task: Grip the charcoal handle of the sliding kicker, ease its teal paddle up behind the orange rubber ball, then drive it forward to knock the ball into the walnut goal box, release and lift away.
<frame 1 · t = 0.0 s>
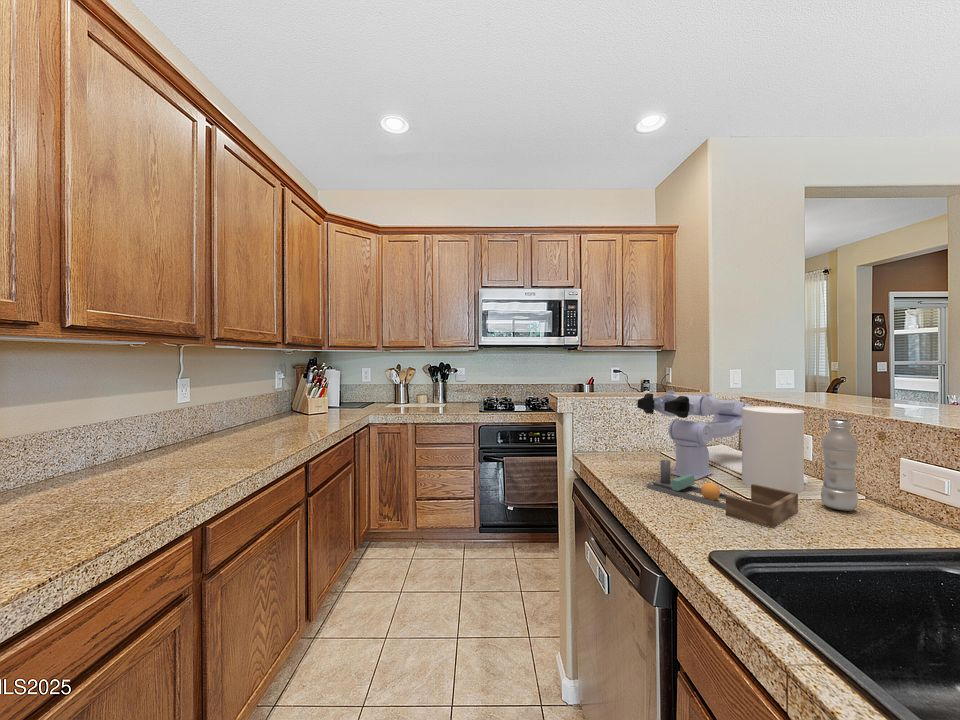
hand: (651, 405, 112), 22 cm above the worktop, tool horizontal, fingers open, 7 cm apart
kicker: (671, 475, 111), point 4 cm above the worktop, slide at 0.0 cm
guide rails: (692, 494, 107), on the worktop
goal box: (759, 512, 95), on the worktop
plastic bottle: (839, 509, 97), on the worktop
canister: (771, 485, 114), on the worktop
ball: (710, 491, 103), point 2 cm above the worktop
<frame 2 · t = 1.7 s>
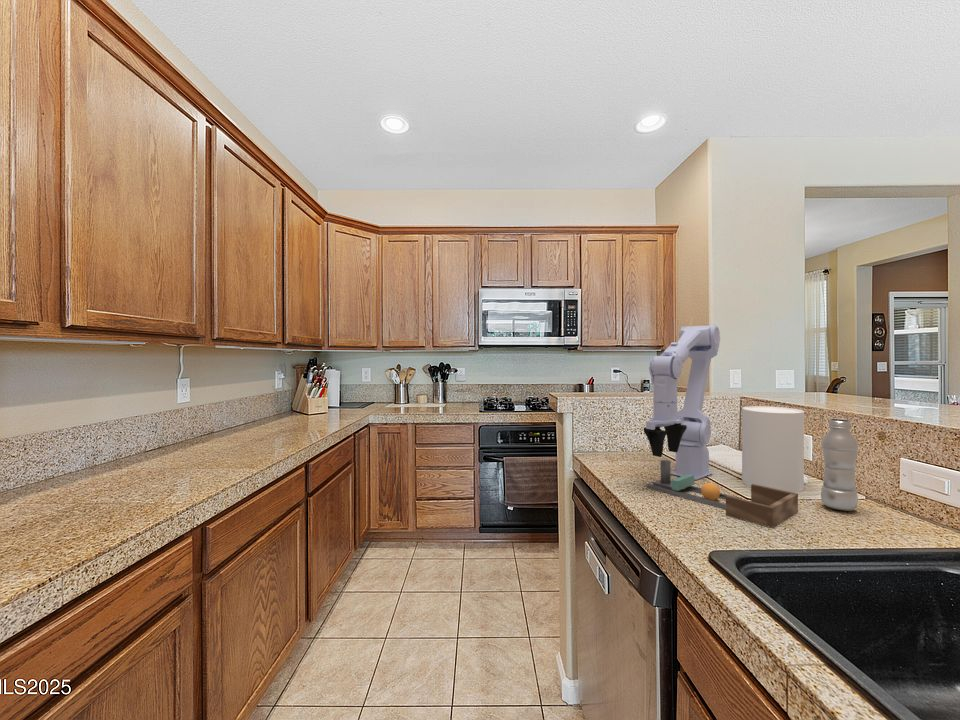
hand: (665, 453, 112), 9 cm above the worktop, tool pointing down, fingers open, 7 cm apart
nothing on the worktop moved.
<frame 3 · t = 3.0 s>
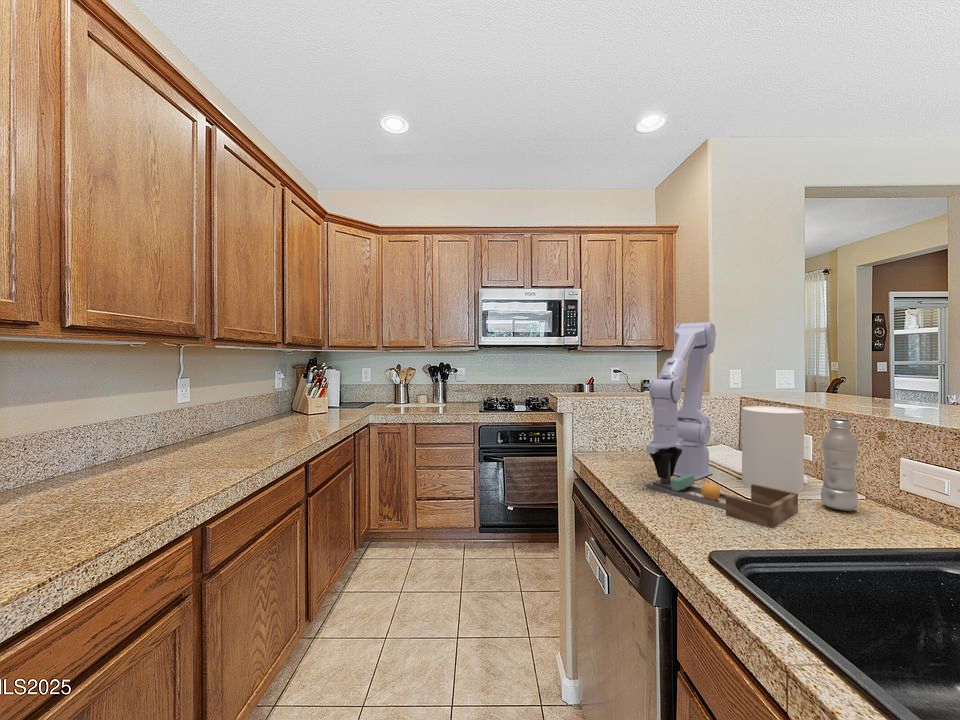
hand: (665, 476, 113), 3 cm above the worktop, tool pointing down, fingers closed on kicker, 2 cm apart
kicker: (671, 475, 111), point 4 cm above the worktop, slide at 0.0 cm, touching gripper
everything else where it was.
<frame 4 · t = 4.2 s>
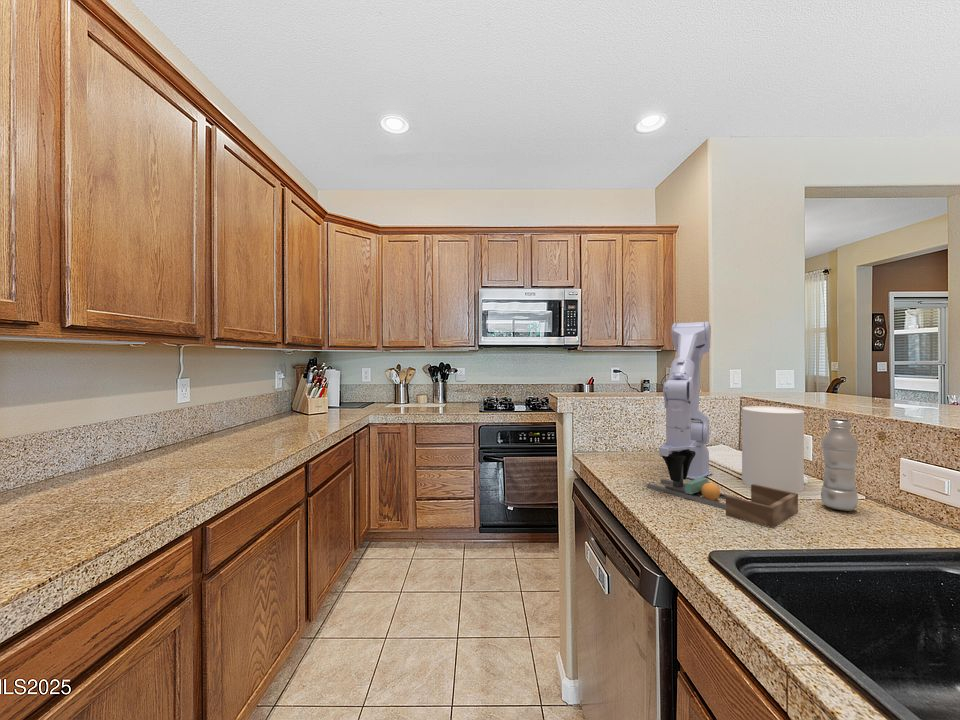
hand: (678, 479, 110), 3 cm above the worktop, tool pointing down, fingers closed on kicker, 2 cm apart
kicker: (684, 478, 108), point 4 cm above the worktop, slide at 3.4 cm, touching gripper
everything else where it was.
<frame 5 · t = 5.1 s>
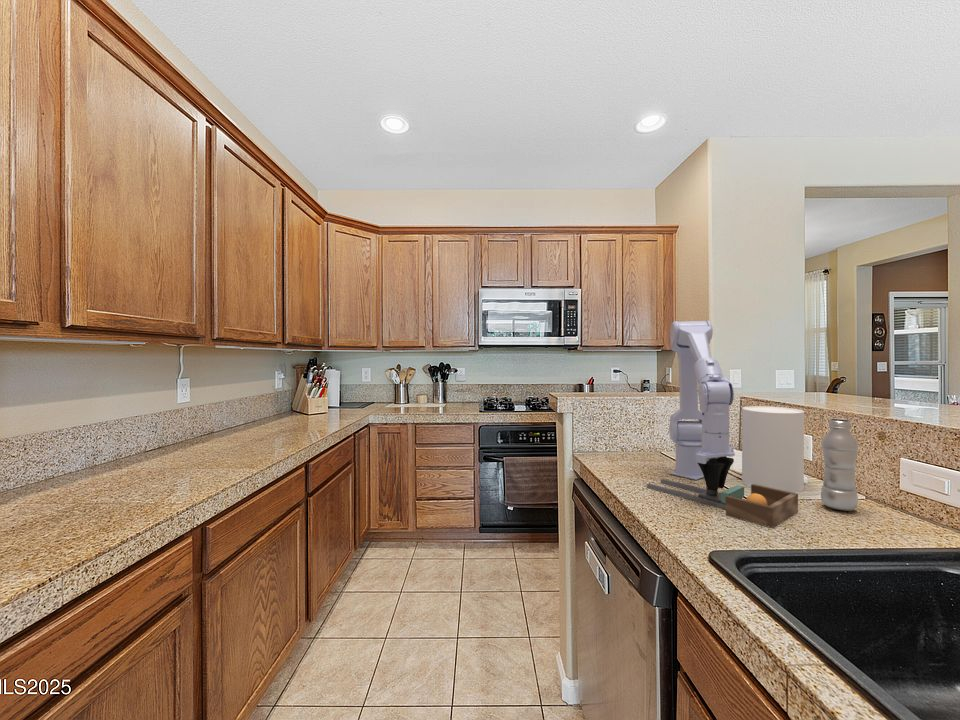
hand: (715, 488, 102), 3 cm above the worktop, tool pointing down, fingers closed on kicker, 2 cm apart
kicker: (719, 486, 102), point 4 cm above the worktop, slide at 11.8 cm, touching gripper
ball: (756, 502, 95), point 2 cm above the worktop, tilted 80°
everything else where it was.
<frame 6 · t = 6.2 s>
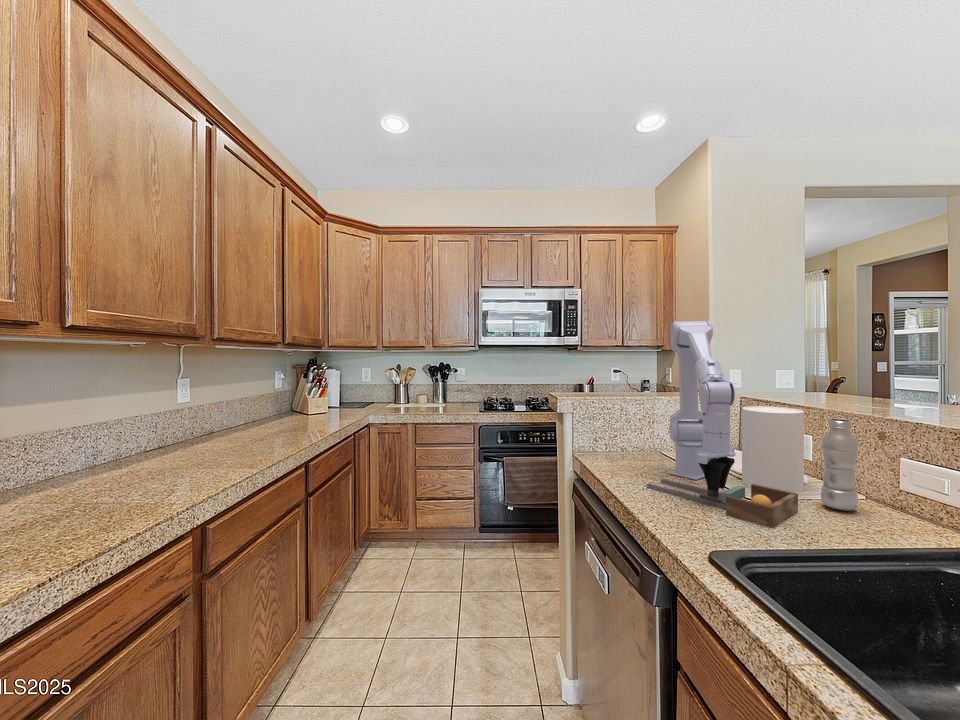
hand: (716, 488, 102), 3 cm above the worktop, tool pointing down, fingers closed on kicker, 2 cm apart
kicker: (720, 486, 102), point 4 cm above the worktop, slide at 12.0 cm, touching gripper
ball: (761, 504, 95), point 2 cm above the worktop, tilted 52°
everything else where it was.
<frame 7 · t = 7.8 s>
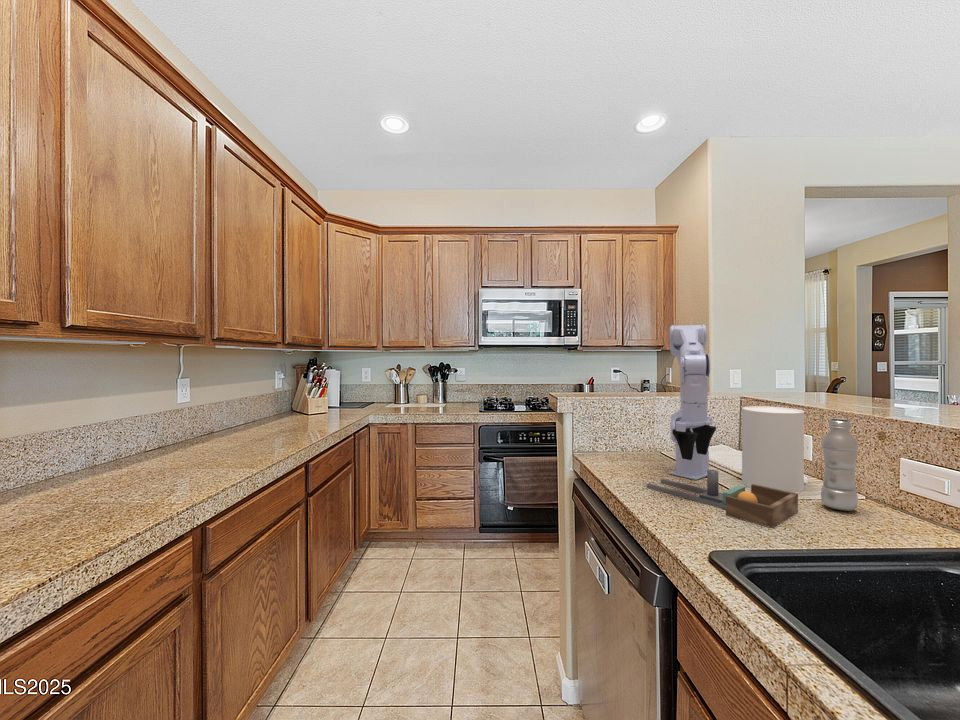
hand: (694, 456, 108), 9 cm above the worktop, tool pointing down, fingers open, 7 cm apart
kicker: (720, 486, 102), point 4 cm above the worktop, slide at 12.0 cm
ball: (747, 500, 97), point 2 cm above the worktop, tilted 133°
everything else where it was.
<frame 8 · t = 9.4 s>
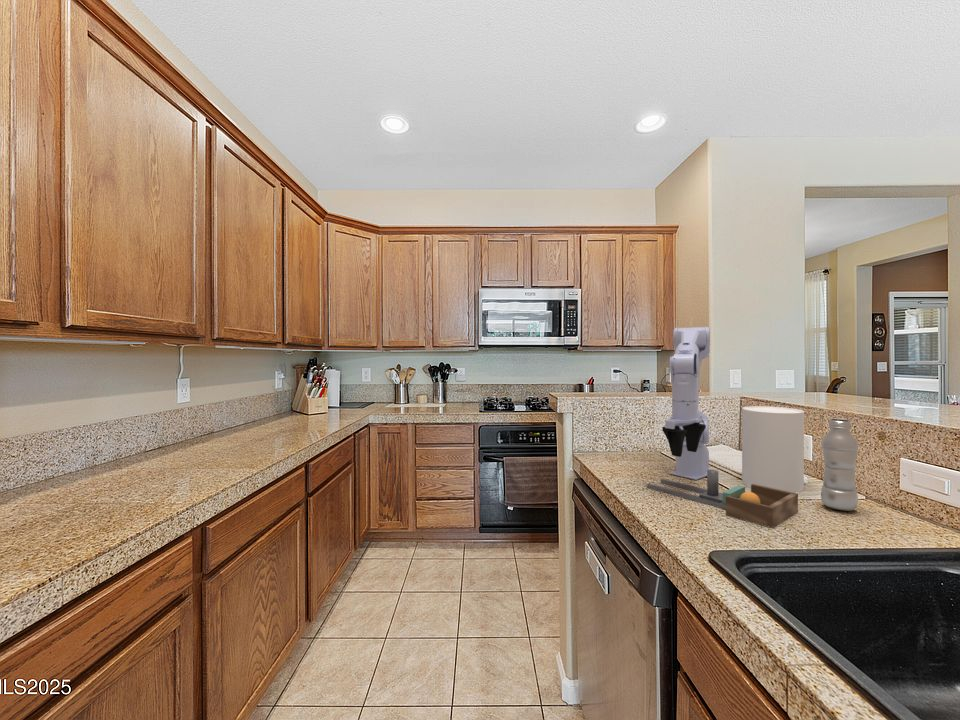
hand: (684, 453, 110), 9 cm above the worktop, tool pointing down, fingers open, 7 cm apart
ball: (749, 501, 97), point 2 cm above the worktop, tilted 118°
everything else where it was.
at the end: ball inside the target area on the goal box (3.0 cm from its centre), point 2.0 cm above the goal box's base; kicker slide at 12.0 cm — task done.
